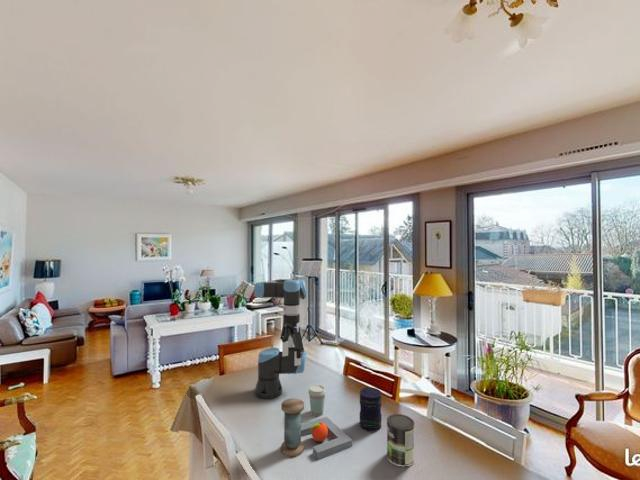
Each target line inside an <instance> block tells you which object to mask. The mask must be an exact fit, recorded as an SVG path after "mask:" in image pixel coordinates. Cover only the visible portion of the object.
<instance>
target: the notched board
mask: <svg viewBox="0 0 640 480" xmlns="http://www.w3.org/2000/svg"><path fill="white" fill-rule="evenodd" d="M317 422H322V423H324V424H325V425H326V426H327V429H328V434H327V435H328V436H330V437H331V438H332V439H331V440H327V441H325V442H322V443H321V444H316V445H315V446H312V454H313V455H314V457H315V458H316V459H317V460H320V459H323V458H325V457H328V456H330V455H333V454H336V453H339V452H340V451H343V450H346V449H349V448H352V447H353V439H352V438H351V437H350V436H349V435H348V434H347V433H345V431H344V430H342V429H341V428H340V427H339V426H337V424H335V423H334V422H333V421H332V420H331V419H330V418H329V417H328V416H325V417H321V418H318V419H315V420H312V421H308V422H304V423H301V437H303V436H307V435H310V434H312V432H311V431H312V429H311V428H312V426H313V425H314V424H315V423H317ZM310 430H311V431H310Z"/></svg>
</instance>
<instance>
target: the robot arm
mask: <svg viewBox="0 0 640 480" xmlns="http://www.w3.org/2000/svg"><path fill="white" fill-rule="evenodd" d="M253 288H254V289H253V293H254V294H253V295H254V297H255V298H260V299H268V298H269V299H271V298H274V299H283V307H282V310H283V315H282V316H283V317H282V329H281V333H280V337H279V339H280V340H281V342H282V343H281V344H282V347H281V349H282V350H280V349H279V348H277V347H270V348H269V347H268V348H266V349H263V350H261V351H260V352H259V353H258V357H257V358H258V359H257V381H256V384H255V388H254V395H255V397H257V398H259V399H262V400H264V399H265V400H267V399H275V398H278V397H280V395H282V393H283V386H282V382H281V379H280V375H284V374H285V375H289V374H290V375H291V374H293V375H294V374H295V375H297V374H303V373H304V371H305V369H306V368H305V367H306V359H307V351H306V350H305V347H304V345H303V338H302V313H303V311H302V304H303V303H304V302H305V299H307V287H306V281H305V280H304V279H302V278H301V279H299V278H296V279H295V278H293V279H291V278H290V279H287V278H286V279H284V278H283V279H282V278H281V279H279V278H278V279H274V280H270V281H266V282H265V281H263V282H262V281H259V282H255V283H254V287H253Z"/></svg>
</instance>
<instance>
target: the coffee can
mask: <svg viewBox="0 0 640 480" xmlns="http://www.w3.org/2000/svg"><path fill="white" fill-rule="evenodd" d="M386 428H387V429H386V435H387V436H386V438H387V439H386V458H387V460H388V462H389V463H391V464H392V465H394V466H396V465H397V466H396V467H399V466H402V467H401V468H405V467H404V466H409V467H411V466H412V465H414V464H415V463H414V462H415V421H414V420H413V419H412V418H411V417H409V415H408V416H407V415H406V414H401V413H400V414H399V413H394V414H390V415H388V416H387V418H386ZM410 465H411V466H410Z"/></svg>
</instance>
